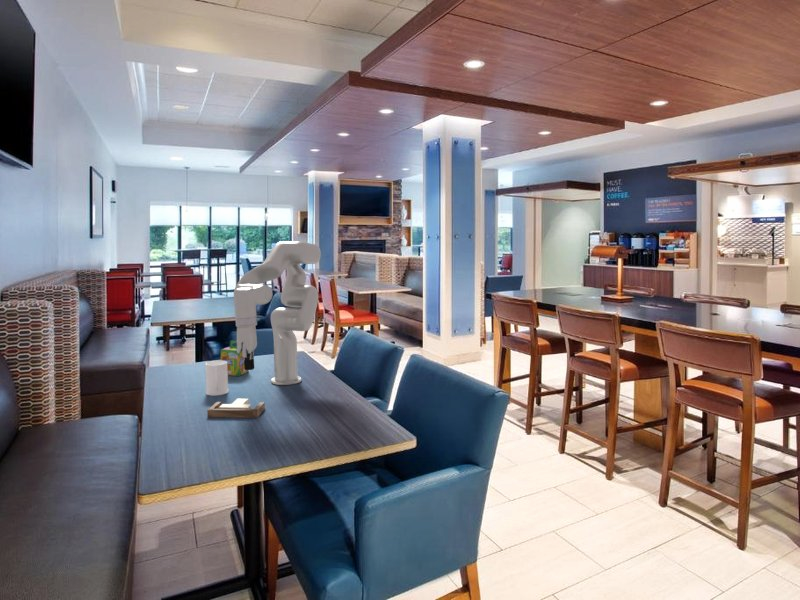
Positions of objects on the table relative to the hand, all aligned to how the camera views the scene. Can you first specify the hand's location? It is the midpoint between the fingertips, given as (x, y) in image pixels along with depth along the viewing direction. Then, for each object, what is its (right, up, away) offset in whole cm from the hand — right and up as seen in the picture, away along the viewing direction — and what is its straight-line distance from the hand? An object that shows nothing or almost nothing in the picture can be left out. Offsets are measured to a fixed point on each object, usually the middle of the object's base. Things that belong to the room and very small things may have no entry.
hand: (249, 369), depth 195 cm
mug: (-15, -11, +9) cm, 21 cm away
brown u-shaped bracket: (-1, -13, -13) cm, 19 cm away
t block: (-1, -13, -11) cm, 17 cm away
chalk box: (-18, -7, +40) cm, 45 cm away
